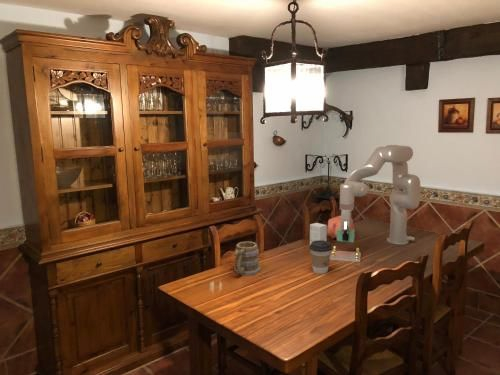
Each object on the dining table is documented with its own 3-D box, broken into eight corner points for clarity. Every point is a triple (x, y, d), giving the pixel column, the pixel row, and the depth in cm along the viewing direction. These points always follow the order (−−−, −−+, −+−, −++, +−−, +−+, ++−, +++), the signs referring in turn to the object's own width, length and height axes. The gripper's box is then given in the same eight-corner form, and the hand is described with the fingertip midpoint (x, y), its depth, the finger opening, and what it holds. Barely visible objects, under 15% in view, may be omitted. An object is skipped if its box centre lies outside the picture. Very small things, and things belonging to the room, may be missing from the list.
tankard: (241, 264, 224) (241, 237, 221) (263, 268, 218) (263, 240, 215) (223, 278, 206) (222, 249, 203) (246, 282, 201) (245, 252, 198)
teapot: (341, 231, 279) (342, 211, 276) (358, 235, 270) (359, 214, 267) (322, 239, 263) (322, 217, 261) (339, 243, 255) (340, 221, 252)
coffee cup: (323, 277, 205) (324, 248, 202) (304, 272, 212) (304, 243, 209) (336, 270, 213) (336, 242, 210) (317, 265, 220) (317, 238, 218)
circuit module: (354, 239, 231) (354, 229, 230) (353, 242, 226) (354, 231, 225) (337, 238, 234) (338, 227, 233) (336, 240, 229) (337, 230, 228)
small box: (326, 246, 251) (327, 225, 248) (319, 248, 247) (319, 227, 244) (316, 242, 257) (316, 222, 255) (309, 245, 253) (309, 224, 251)
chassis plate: (360, 254, 236) (360, 247, 235) (360, 262, 224) (360, 254, 224) (331, 252, 240) (331, 245, 239) (329, 259, 229) (329, 252, 228)
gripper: (340, 202, 236) (339, 233, 239) (338, 209, 220) (337, 243, 223) (354, 203, 234) (353, 234, 237) (353, 210, 218) (352, 244, 221)
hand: (345, 238), depth 230 cm, fingers closed on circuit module, 5 cm apart
